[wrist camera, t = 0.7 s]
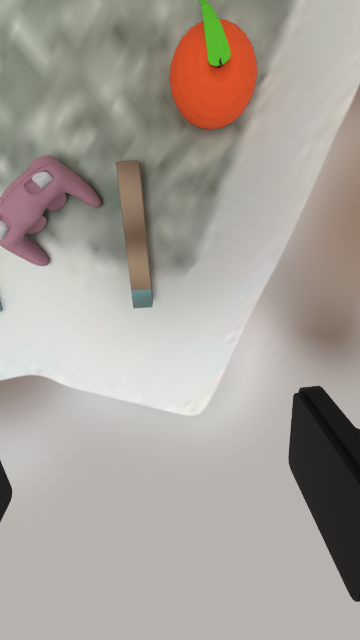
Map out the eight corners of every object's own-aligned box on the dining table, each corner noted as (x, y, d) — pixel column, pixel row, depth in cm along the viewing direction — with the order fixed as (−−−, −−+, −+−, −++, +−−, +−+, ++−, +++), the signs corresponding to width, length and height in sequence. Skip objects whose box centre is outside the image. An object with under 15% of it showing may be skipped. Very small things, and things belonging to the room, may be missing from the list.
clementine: (154, 45, 26) (151, -4, 20) (231, 15, 26) (255, -46, 19) (182, 146, 29) (188, 132, 23) (251, 121, 29) (278, 99, 22)
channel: (-60, 174, 29) (-79, 172, 27) (140, 163, 30) (138, 160, 27) (-16, 311, 34) (-29, 319, 32) (152, 299, 35) (152, 307, 33)
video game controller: (81, 171, 31) (32, 134, 24) (109, 203, 30) (65, 174, 24) (22, 240, 33) (-38, 224, 26) (47, 271, 33) (-9, 262, 26)
